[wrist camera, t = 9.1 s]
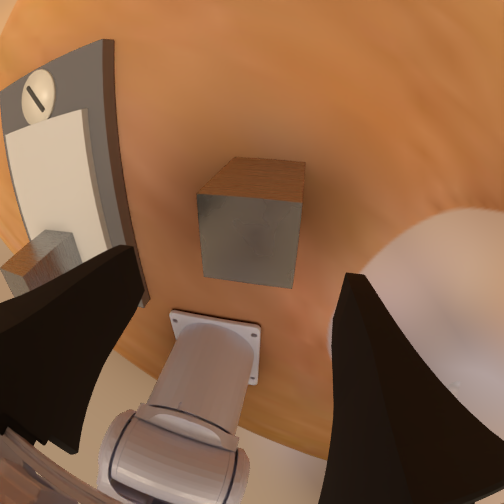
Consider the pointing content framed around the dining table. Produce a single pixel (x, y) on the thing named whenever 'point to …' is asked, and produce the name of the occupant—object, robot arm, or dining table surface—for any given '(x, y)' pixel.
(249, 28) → the dining table surface
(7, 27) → the dining table surface
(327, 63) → the dining table surface
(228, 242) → the block
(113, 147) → the scale
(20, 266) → the block
